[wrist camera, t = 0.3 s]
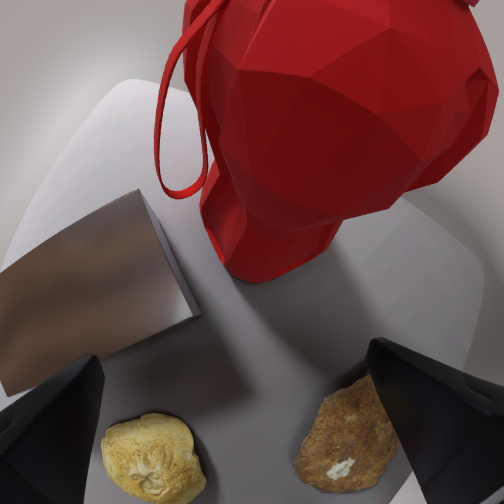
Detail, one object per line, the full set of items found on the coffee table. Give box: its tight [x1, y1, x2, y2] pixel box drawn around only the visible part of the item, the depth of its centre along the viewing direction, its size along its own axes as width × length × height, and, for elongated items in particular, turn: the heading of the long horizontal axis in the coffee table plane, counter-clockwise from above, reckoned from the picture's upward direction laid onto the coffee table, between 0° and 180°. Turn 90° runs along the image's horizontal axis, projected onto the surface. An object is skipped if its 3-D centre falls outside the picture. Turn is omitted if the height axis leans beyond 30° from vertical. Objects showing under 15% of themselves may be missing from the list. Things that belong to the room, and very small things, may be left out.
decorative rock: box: [293, 371, 400, 493], centre depth 19 cm, size 11×4×15 cm
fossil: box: [101, 413, 206, 504], centre depth 16 cm, size 11×6×10 cm
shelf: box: [0, 188, 202, 397], centre depth 17 cm, size 9×18×7 cm, turn 117°
